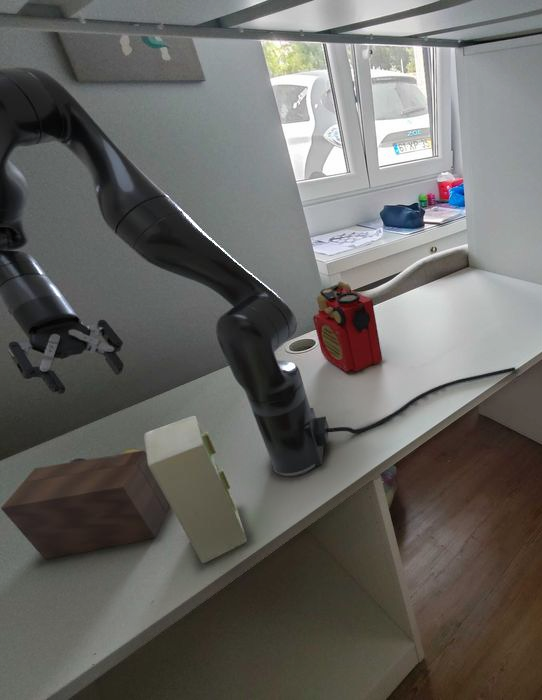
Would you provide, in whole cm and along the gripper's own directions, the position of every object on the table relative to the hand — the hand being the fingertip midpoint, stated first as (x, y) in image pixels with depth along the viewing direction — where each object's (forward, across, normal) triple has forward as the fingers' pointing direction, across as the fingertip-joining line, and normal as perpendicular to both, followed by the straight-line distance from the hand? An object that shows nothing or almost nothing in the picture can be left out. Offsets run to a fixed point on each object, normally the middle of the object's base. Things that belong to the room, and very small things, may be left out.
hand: (92, 381), depth 77 cm
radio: (+18, +50, 0) cm, 53 cm away
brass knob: (+18, -2, +1) cm, 18 cm away
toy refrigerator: (+35, 0, -8) cm, 36 cm away
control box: (+23, -7, +6) cm, 24 cm away
